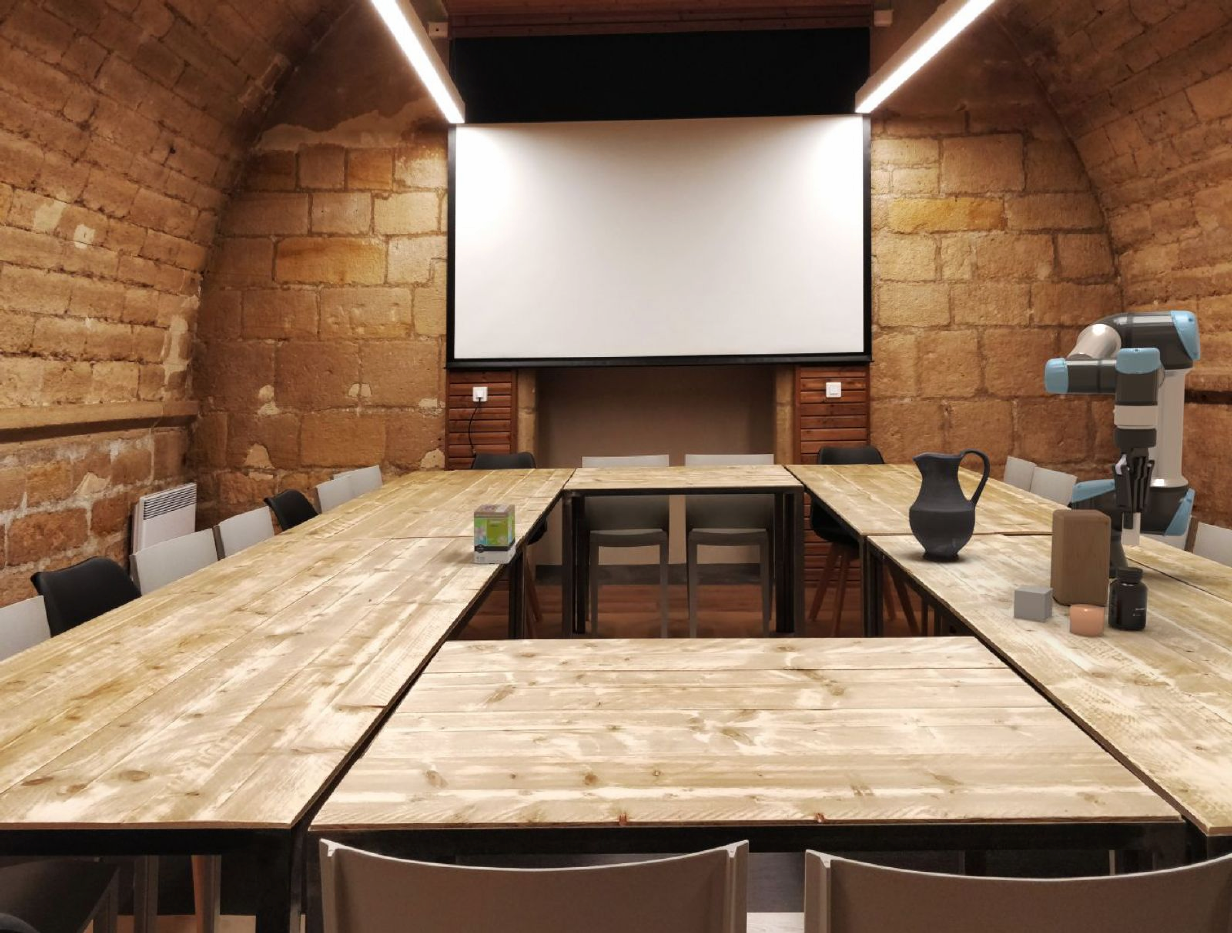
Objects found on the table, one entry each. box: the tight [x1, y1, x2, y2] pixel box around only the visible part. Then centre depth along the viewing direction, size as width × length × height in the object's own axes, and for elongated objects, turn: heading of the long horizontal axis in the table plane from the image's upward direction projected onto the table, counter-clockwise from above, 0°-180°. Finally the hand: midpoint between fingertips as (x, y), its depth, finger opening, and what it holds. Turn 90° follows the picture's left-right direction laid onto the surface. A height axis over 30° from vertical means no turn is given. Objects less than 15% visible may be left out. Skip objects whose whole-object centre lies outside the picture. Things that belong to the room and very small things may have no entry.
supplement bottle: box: [1107, 565, 1149, 632], centre depth 193 cm, size 7×7×12 cm
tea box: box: [473, 504, 516, 565], centre depth 271 cm, size 15×10×15 cm
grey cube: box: [1013, 584, 1054, 623], centre depth 202 cm, size 6×6×6 cm
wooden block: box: [1049, 508, 1111, 607], centre depth 214 cm, size 10×10×20 cm
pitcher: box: [908, 448, 991, 563], centre depth 261 cm, size 17×21×30 cm
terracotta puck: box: [1069, 604, 1105, 638], centre depth 190 cm, size 6×6×5 cm
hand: (1130, 544), depth 192 cm, fingers closed
